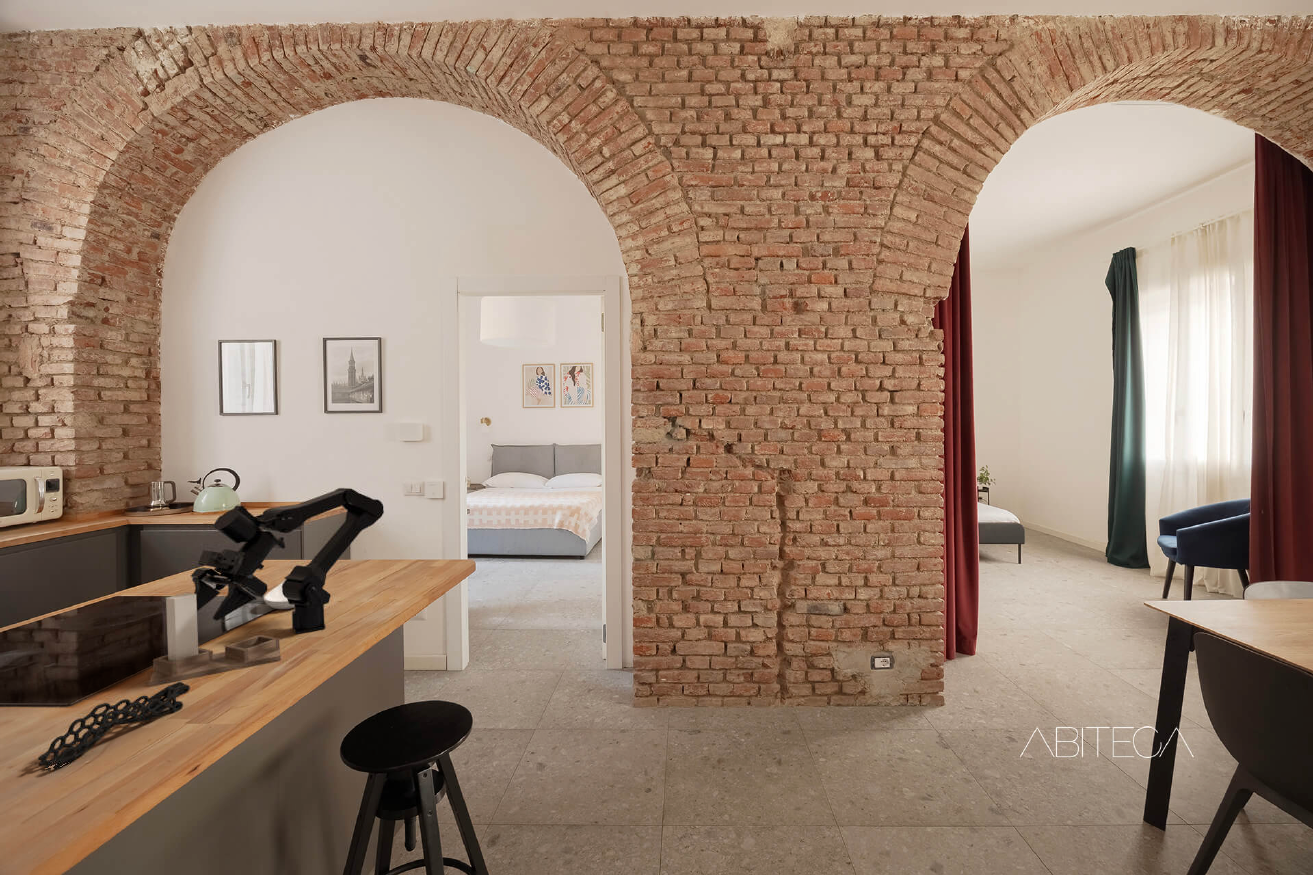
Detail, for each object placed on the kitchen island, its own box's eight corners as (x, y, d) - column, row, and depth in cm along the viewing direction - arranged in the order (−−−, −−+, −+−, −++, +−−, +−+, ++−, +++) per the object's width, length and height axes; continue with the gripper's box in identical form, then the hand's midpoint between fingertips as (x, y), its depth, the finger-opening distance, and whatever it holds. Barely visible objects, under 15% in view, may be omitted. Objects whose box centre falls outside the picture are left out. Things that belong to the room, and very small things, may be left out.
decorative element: (61, 774, 89) (60, 735, 89) (32, 771, 90) (31, 733, 90) (196, 704, 112) (196, 673, 112) (173, 702, 112) (172, 671, 112)
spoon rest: (306, 611, 167) (305, 585, 166) (257, 615, 163) (256, 589, 163) (326, 588, 189) (325, 565, 189) (283, 592, 186) (283, 569, 185)
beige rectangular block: (190, 662, 128) (187, 592, 128) (198, 664, 127) (196, 593, 127) (168, 669, 125) (166, 597, 124) (177, 671, 123) (174, 599, 123)
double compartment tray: (278, 646, 140) (278, 631, 139) (280, 660, 131) (280, 644, 131) (156, 669, 127) (155, 652, 127) (149, 686, 119) (149, 668, 119)
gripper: (198, 532, 137) (143, 593, 127) (251, 537, 129) (197, 603, 120) (236, 558, 144) (186, 618, 135) (288, 565, 137) (239, 629, 127)
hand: (201, 617), depth 129 cm, fingers open, 9 cm apart
